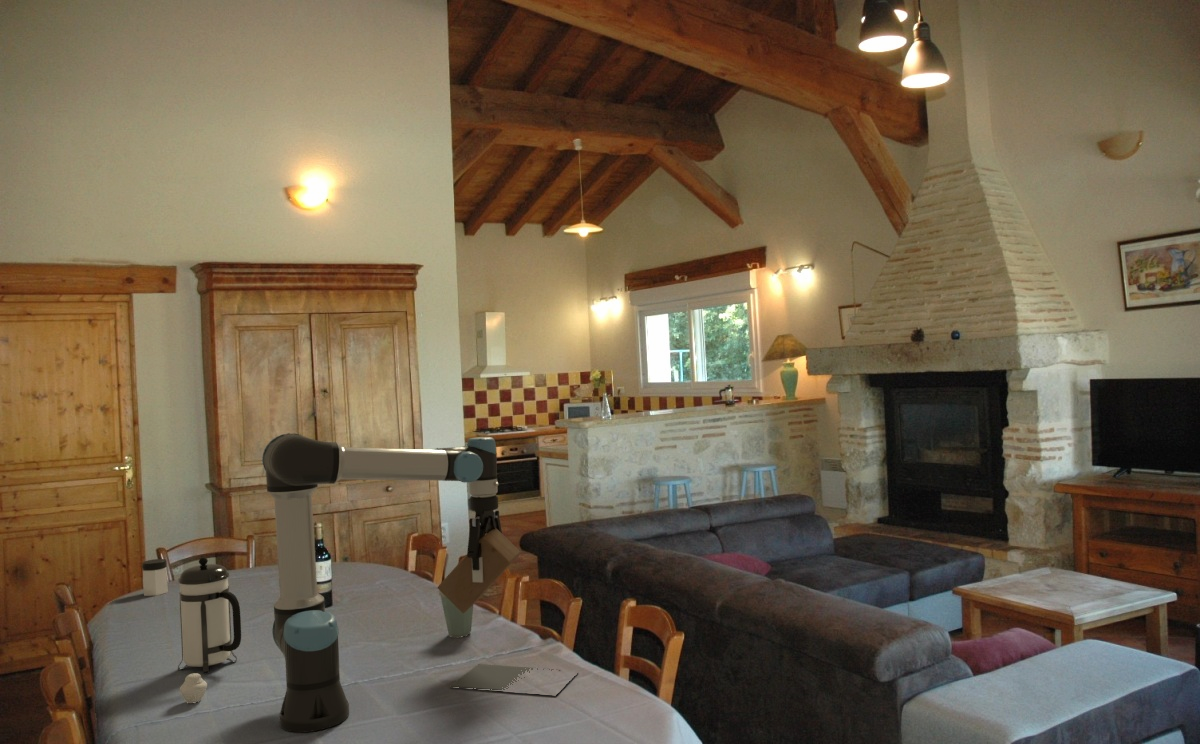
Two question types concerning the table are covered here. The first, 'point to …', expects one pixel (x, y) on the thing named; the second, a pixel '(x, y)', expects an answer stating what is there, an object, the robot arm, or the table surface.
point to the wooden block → (495, 562)
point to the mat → (490, 677)
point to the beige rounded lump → (193, 688)
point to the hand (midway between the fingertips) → (487, 576)
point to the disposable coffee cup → (456, 618)
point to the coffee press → (207, 616)
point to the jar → (154, 577)
